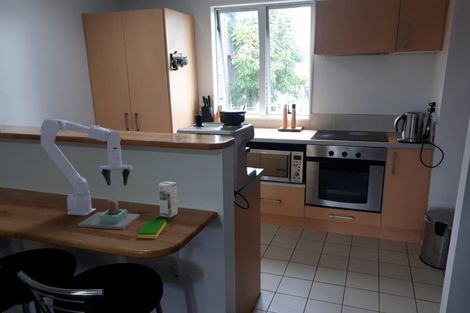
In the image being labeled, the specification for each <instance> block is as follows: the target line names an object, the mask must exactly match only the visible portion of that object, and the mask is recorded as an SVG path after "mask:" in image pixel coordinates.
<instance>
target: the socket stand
mask: <svg viewBox="0 0 470 313" xmlns="http://www.w3.org/2000/svg"><path fill="white" fill-rule="evenodd" d="M118 211H119V214H117V215H109V213H108V209H107V210H106V211H97V212H95V213H94V214H93V215H91V216H89V217H87V218H85V219H84V220H82V221H80V222H78V224H77V227H80V228H81V227H82V228H83V227H84V228H98V229H110V230H113V229H114V230H125V228H127V227H128V226H129V225H131V224H132V223H134V222H135V221H136V220H138V219H139V218H140V217H141V216H140V214H138V213H137V214H136V213H128V209H121V208H120V209H119V208H118Z"/></svg>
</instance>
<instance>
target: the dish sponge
mask: <svg viewBox="0 0 470 313" xmlns="http://www.w3.org/2000/svg"><path fill="white" fill-rule="evenodd" d="M166 225H167V219H162V218H161V219H159V218H157V219H153V218H152V219H151V218H150V219H148V220H147V221H146V222H145V224H144V225H142V227H141V228H140V229H139V230H138V232H137V238H138V239H157V238H158V237H159V235H160V234H161V232H162V231H163V229H164V228H165V227H166Z"/></svg>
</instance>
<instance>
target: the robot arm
mask: <svg viewBox="0 0 470 313" xmlns="http://www.w3.org/2000/svg"><path fill="white" fill-rule="evenodd" d="M60 131H61V132H66V131H71V132H77V133H81V134H86V135H88V137H89V139H93V140H98V141H102V142H107V157H108V158H107V160H108V164H107V165H100V166H99V172H100V173H101V175H102V176H103V178H104V179H105V182H106V184H107V187H108V186H111V184H112V181H111V171H121V174H122V178H123V179H122V180H123V186H127V185H128V179H129V176H130V173H131V171H132V170H133V166H132V165H131V164H129V165H128V164H123V160H122V148H121V143H120V142H121V140H122V136H121V134H120V133H119V132H118V131H116V130H114V129H111V128H110V127H108V128H106V127H102V126H100V125H99V124H96V125H93V124H92V125H91V126H90V127H89V126H87V125H83V124H80V123H76V122H73V121H69V120H66V119H58V118H53V117H48V118H46V119H44V120H43V122H42V125H41V128H40V146H41V147H42V149H44V151H45V152H46V153H47V155H48V156H49V157H50V158H51V160H52V161H53V162H54V163H55V165H56V166H57V167H58V168H59V169H60V171H61V172H62V173H63V175H64V176H65V177H66V179H67V180H68V181H69V183H70V184H71V185H72V189H73V192H71V193H69V194H68V195H67V198H66V204H67V215H70V216H71V215H72V216H73V215H74V216H88V215H90V214H91V213H93V212H94V211H96V210H97V208H92V197H91V190H90V184H88V180H87V179H86V178H85V177H84V176H81V174H79V172H78V171H77V169H76V168H74V166H73V165H72V163H71V162H70V161H69V159H67V157H66V156H65V155H64V154H63V152H62V151H61V150H60V148H59V147H58V146H57V145H56V144H55V141H56V136H57V135H58V133H59V132H60Z"/></svg>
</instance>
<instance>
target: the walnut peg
mask: <svg viewBox="0 0 470 313" xmlns="http://www.w3.org/2000/svg"><path fill="white" fill-rule="evenodd" d="M118 201H119V200H118V199H116V198H115V199H109V200H107V210H108V213H109V215H117V214H119V211H118V209H119V202H118Z"/></svg>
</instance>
